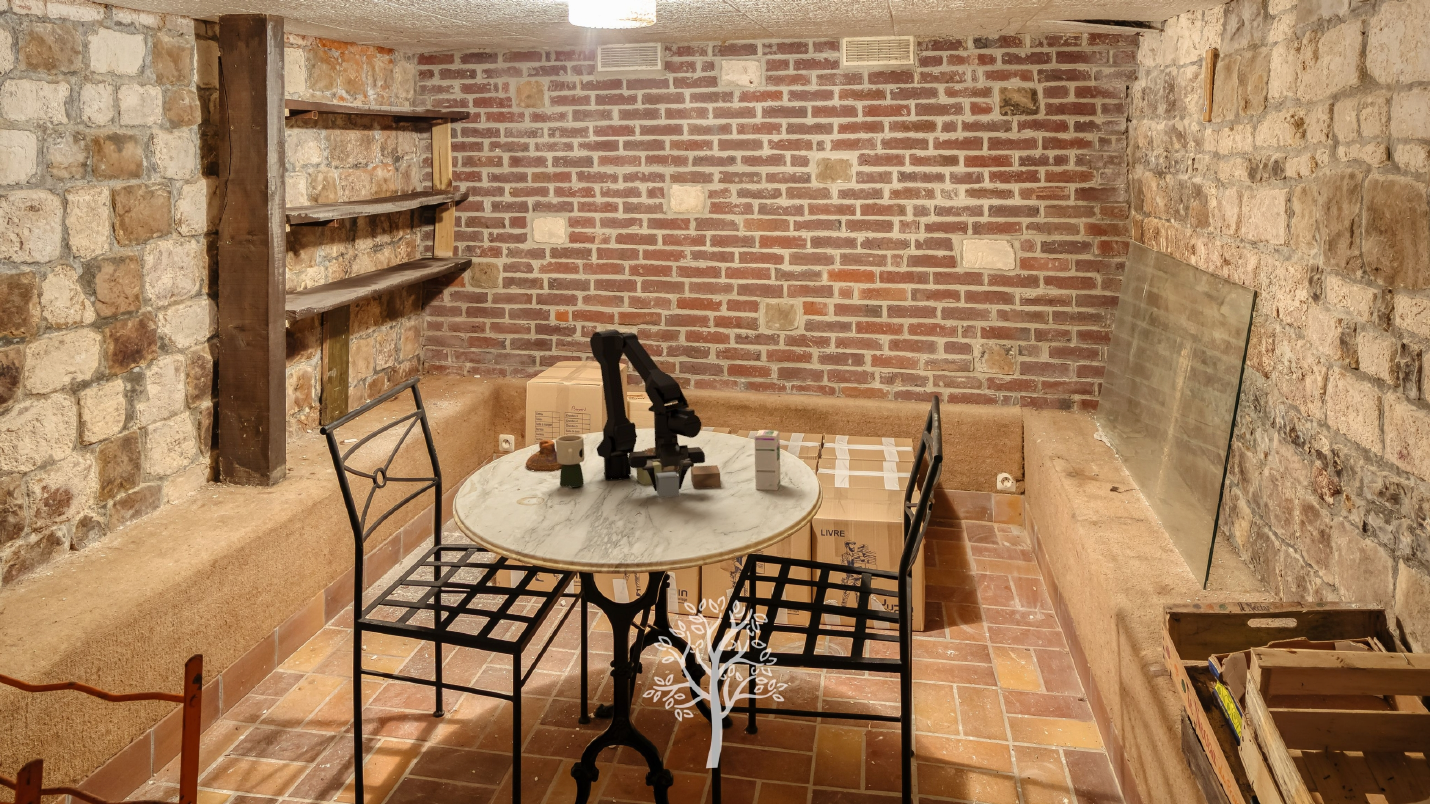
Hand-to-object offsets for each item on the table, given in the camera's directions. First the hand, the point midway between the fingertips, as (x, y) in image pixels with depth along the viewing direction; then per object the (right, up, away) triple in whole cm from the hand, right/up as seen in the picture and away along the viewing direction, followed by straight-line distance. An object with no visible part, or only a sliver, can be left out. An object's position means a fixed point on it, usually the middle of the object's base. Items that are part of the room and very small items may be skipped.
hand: (667, 489), depth 256 cm
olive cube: (-5, +1, +11) cm, 12 cm away
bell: (-35, +4, +26) cm, 44 cm away
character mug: (-25, 0, +8) cm, 27 cm away
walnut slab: (+10, +1, +8) cm, 13 cm away
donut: (-3, +4, +23) cm, 24 cm away
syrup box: (+26, 0, +4) cm, 26 cm away
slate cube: (0, -1, 0) cm, 1 cm away
